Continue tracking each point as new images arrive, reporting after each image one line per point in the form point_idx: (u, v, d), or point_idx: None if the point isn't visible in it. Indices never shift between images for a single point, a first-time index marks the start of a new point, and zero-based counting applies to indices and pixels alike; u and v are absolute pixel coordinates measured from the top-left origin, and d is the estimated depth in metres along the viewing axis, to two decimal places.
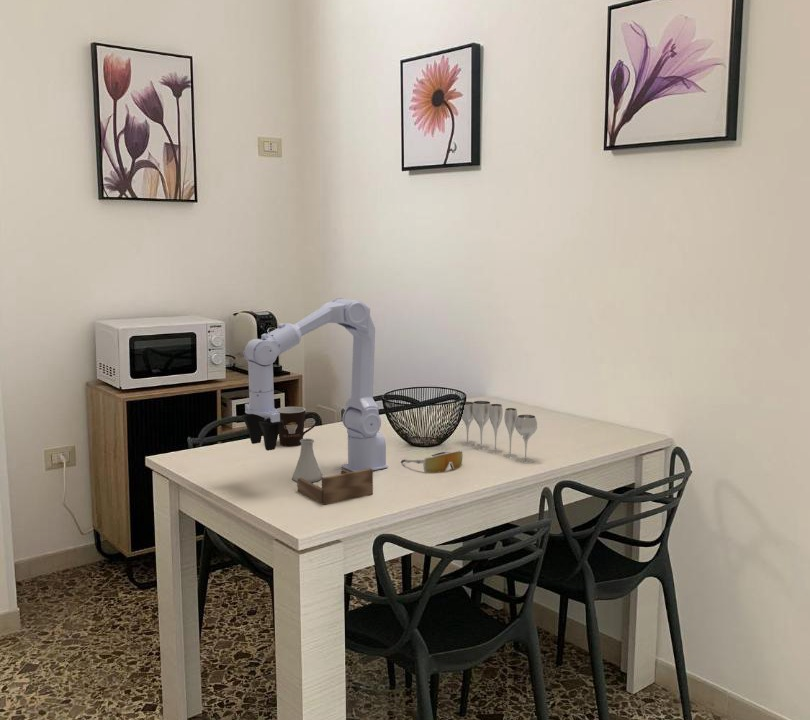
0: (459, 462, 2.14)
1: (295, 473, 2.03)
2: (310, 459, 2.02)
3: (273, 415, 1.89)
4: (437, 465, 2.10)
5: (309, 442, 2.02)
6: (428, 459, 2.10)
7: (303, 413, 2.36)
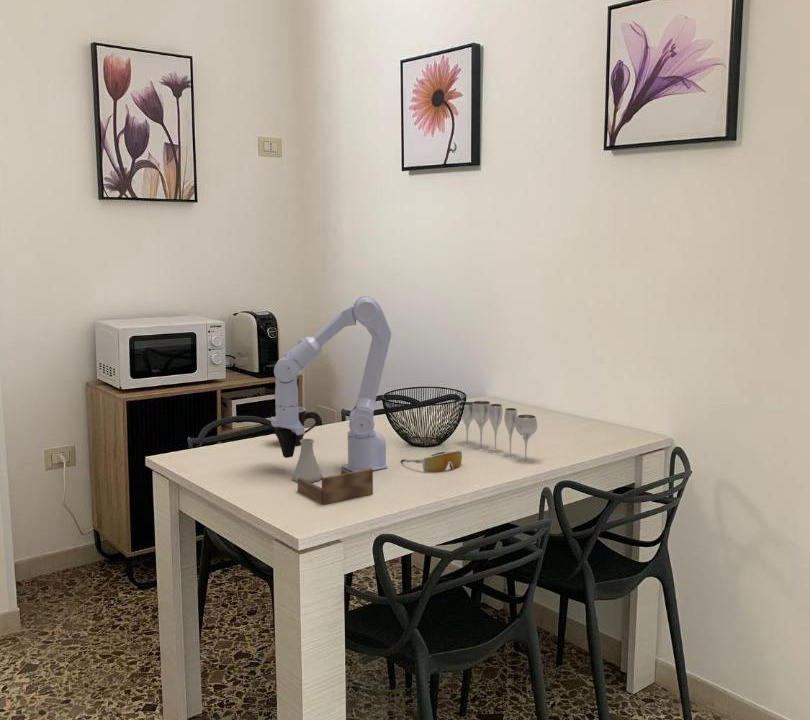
0: (458, 462, 2.15)
1: (295, 473, 2.03)
2: (310, 459, 2.02)
3: (298, 428, 2.05)
4: (436, 465, 2.10)
5: (309, 442, 2.02)
6: (427, 459, 2.10)
7: (303, 413, 2.36)
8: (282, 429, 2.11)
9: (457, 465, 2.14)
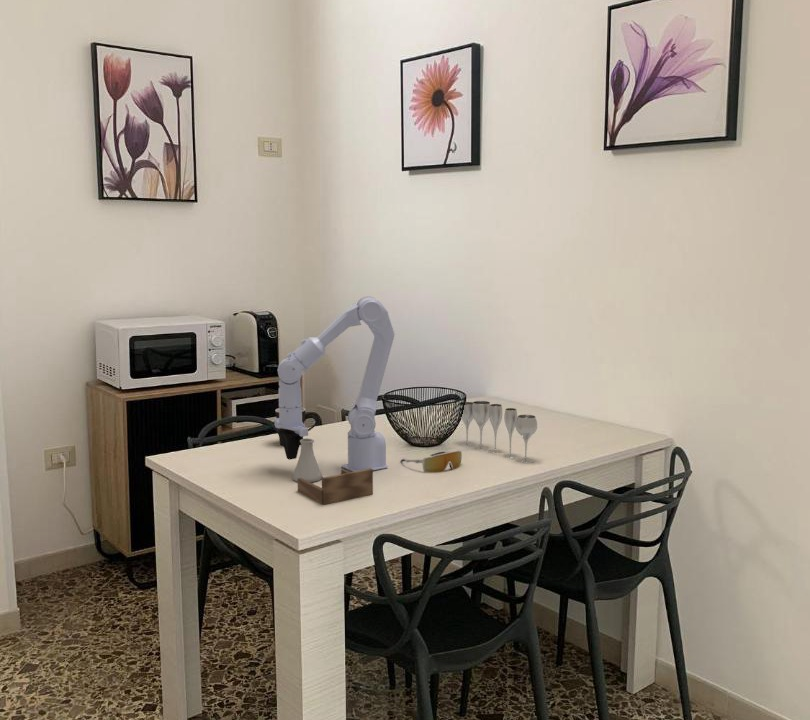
0: (458, 462, 2.15)
1: (295, 473, 2.03)
2: (310, 459, 2.02)
3: (302, 430, 2.03)
4: (436, 465, 2.10)
5: (309, 442, 2.02)
6: (427, 459, 2.10)
7: (303, 413, 2.36)
8: (285, 431, 2.10)
9: (457, 465, 2.14)
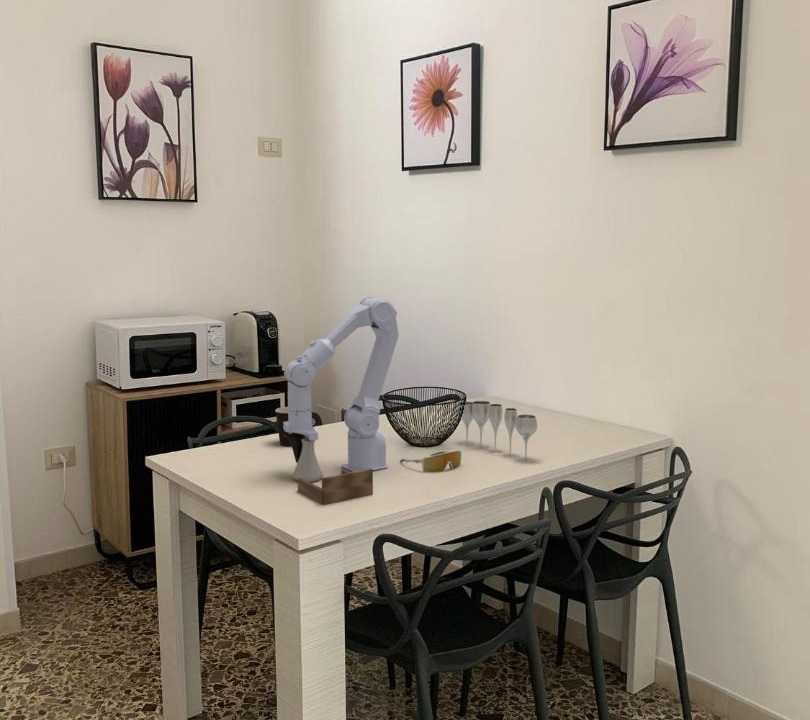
0: (458, 462, 2.15)
1: (295, 471, 2.03)
2: (311, 459, 2.02)
3: (312, 434, 1.99)
4: (435, 465, 2.10)
5: (311, 442, 2.01)
6: (427, 459, 2.10)
7: None
8: (295, 434, 2.06)
9: (456, 465, 2.14)
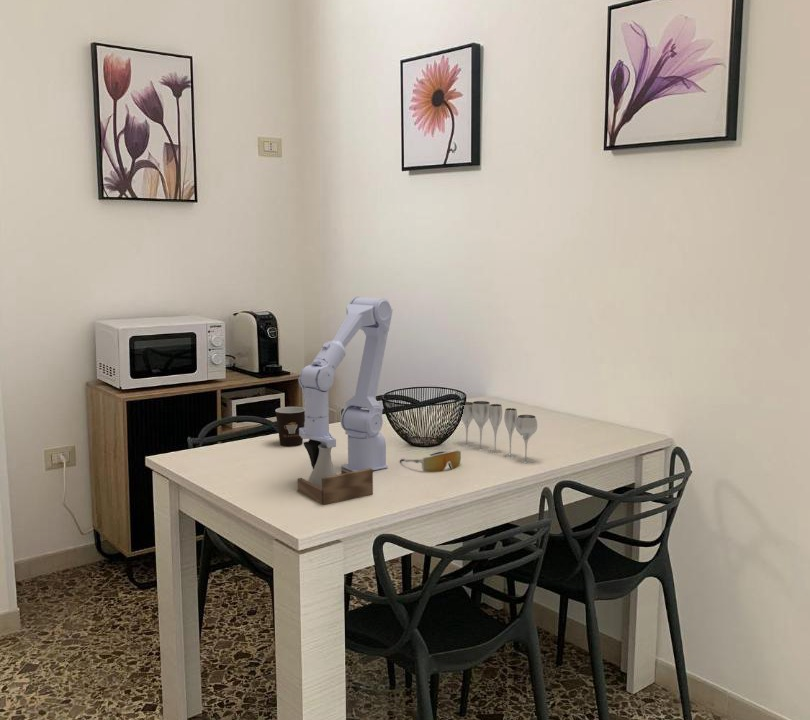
0: (457, 461, 2.15)
1: (311, 478, 1.97)
2: (327, 466, 1.95)
3: (329, 441, 1.92)
4: (435, 465, 2.10)
5: (328, 449, 1.95)
6: (426, 458, 2.10)
7: (303, 413, 2.36)
8: (312, 441, 1.99)
9: (456, 465, 2.15)
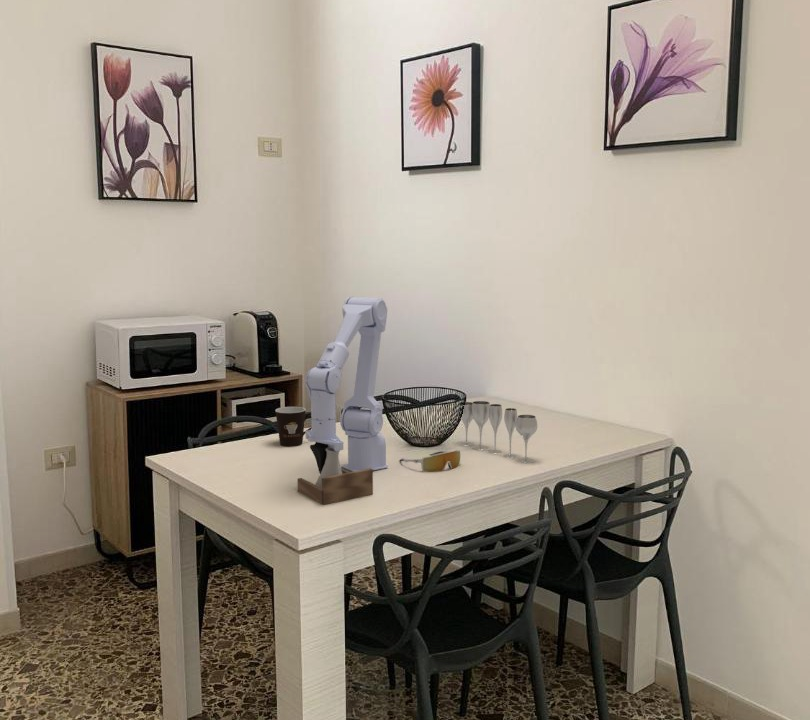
0: (457, 461, 2.15)
1: (318, 482, 1.94)
2: (335, 470, 1.93)
3: (337, 444, 1.90)
4: (435, 465, 2.10)
5: (336, 452, 1.92)
6: (426, 458, 2.10)
7: (303, 413, 2.36)
8: (318, 444, 1.96)
9: (455, 465, 2.15)
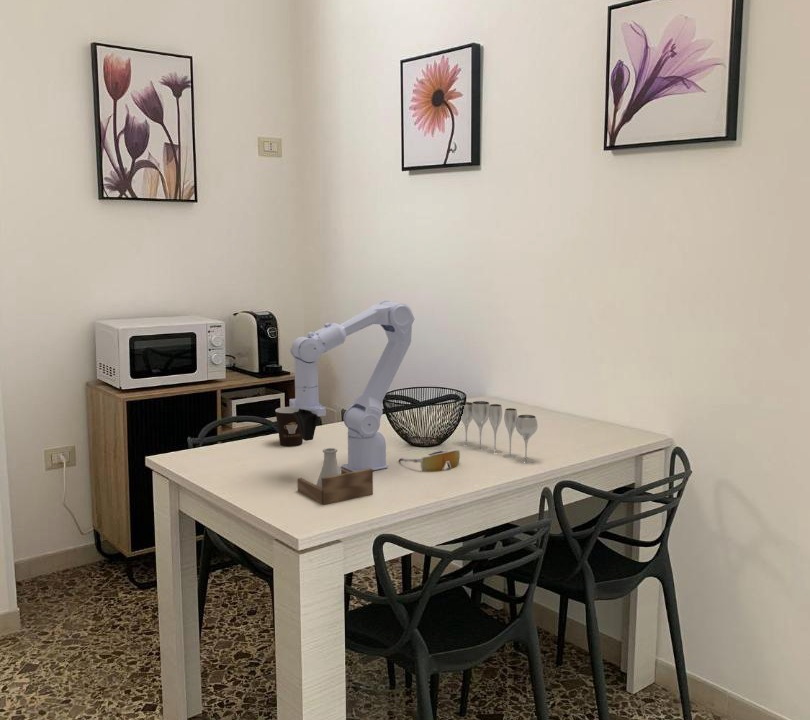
0: (456, 461, 2.15)
1: (318, 484, 1.94)
2: (333, 470, 1.93)
3: (320, 409, 1.98)
4: (434, 464, 2.11)
5: (333, 452, 1.93)
6: (425, 458, 2.10)
7: None
8: (302, 411, 2.05)
9: (455, 464, 2.15)
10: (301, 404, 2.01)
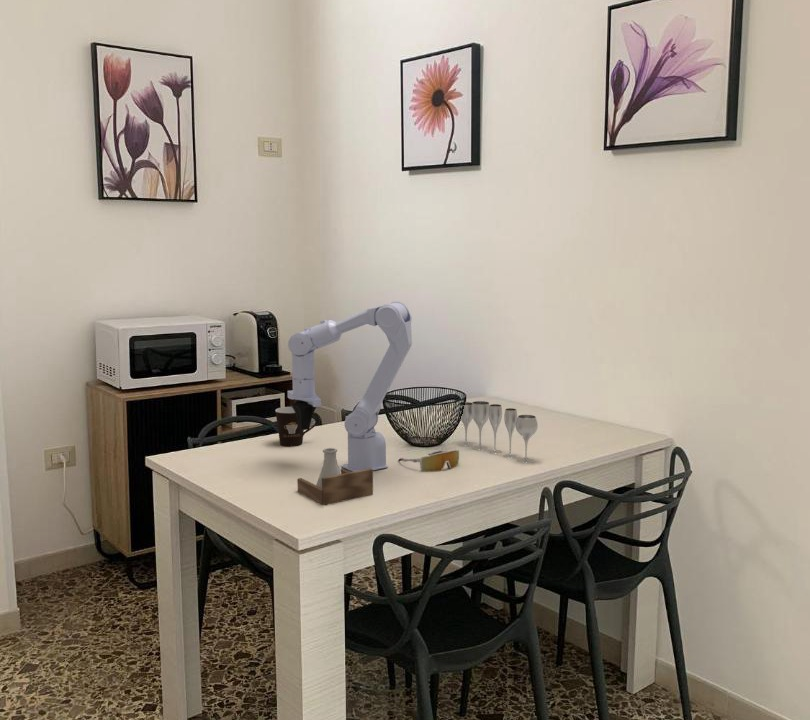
0: (456, 461, 2.15)
1: (318, 484, 1.94)
2: (333, 470, 1.93)
3: (315, 400, 2.09)
4: (433, 464, 2.11)
5: (333, 452, 1.93)
6: (425, 458, 2.11)
7: None
8: (299, 402, 2.15)
9: (454, 464, 2.15)
10: (298, 395, 2.12)
